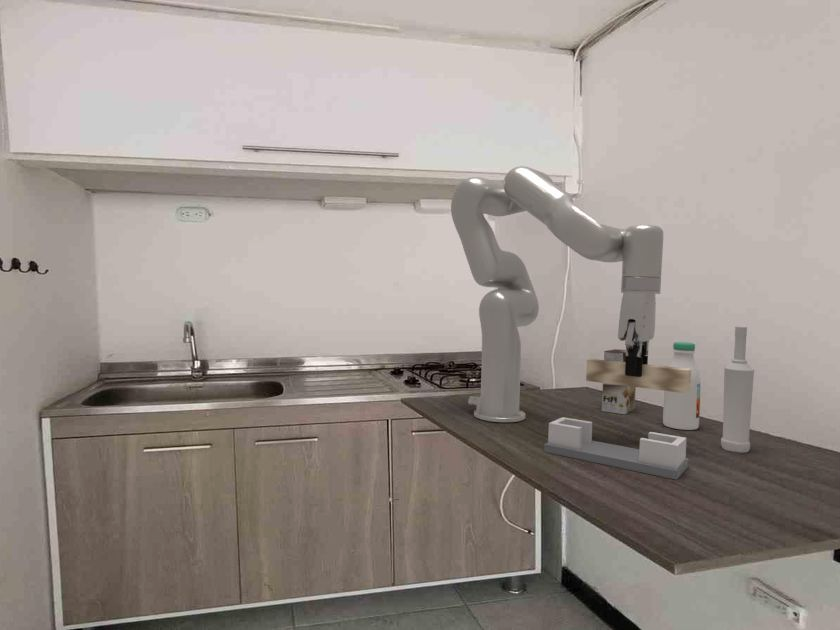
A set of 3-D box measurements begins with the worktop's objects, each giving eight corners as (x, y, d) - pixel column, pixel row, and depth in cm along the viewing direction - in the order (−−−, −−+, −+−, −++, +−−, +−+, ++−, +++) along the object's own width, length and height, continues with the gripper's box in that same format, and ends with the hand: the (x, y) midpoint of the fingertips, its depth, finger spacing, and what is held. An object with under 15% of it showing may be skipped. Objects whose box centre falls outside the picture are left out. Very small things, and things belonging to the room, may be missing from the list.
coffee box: (626, 415, 140) (628, 353, 140) (601, 411, 144) (603, 351, 143) (635, 409, 148) (637, 350, 147) (611, 405, 152) (613, 348, 151)
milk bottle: (690, 432, 124) (694, 345, 123) (656, 425, 130) (660, 342, 129) (704, 427, 129) (708, 343, 128) (671, 421, 135) (674, 340, 134)
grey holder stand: (544, 451, 107) (544, 423, 106) (562, 442, 114) (563, 416, 113) (676, 479, 92) (678, 447, 92) (688, 466, 99) (689, 436, 99)
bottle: (754, 454, 108) (760, 328, 107) (725, 451, 109) (731, 327, 108) (744, 446, 113) (750, 326, 112) (717, 444, 114) (722, 325, 113)
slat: (586, 380, 118) (586, 360, 118) (591, 379, 120) (591, 358, 120) (686, 393, 106) (688, 370, 106) (690, 391, 108) (691, 368, 108)
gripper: (633, 286, 121) (629, 368, 122) (609, 285, 108) (604, 377, 109) (669, 287, 116) (665, 373, 117) (648, 286, 103) (643, 382, 104)
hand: (636, 374), depth 113 cm, fingers closed on slat, 3 cm apart
